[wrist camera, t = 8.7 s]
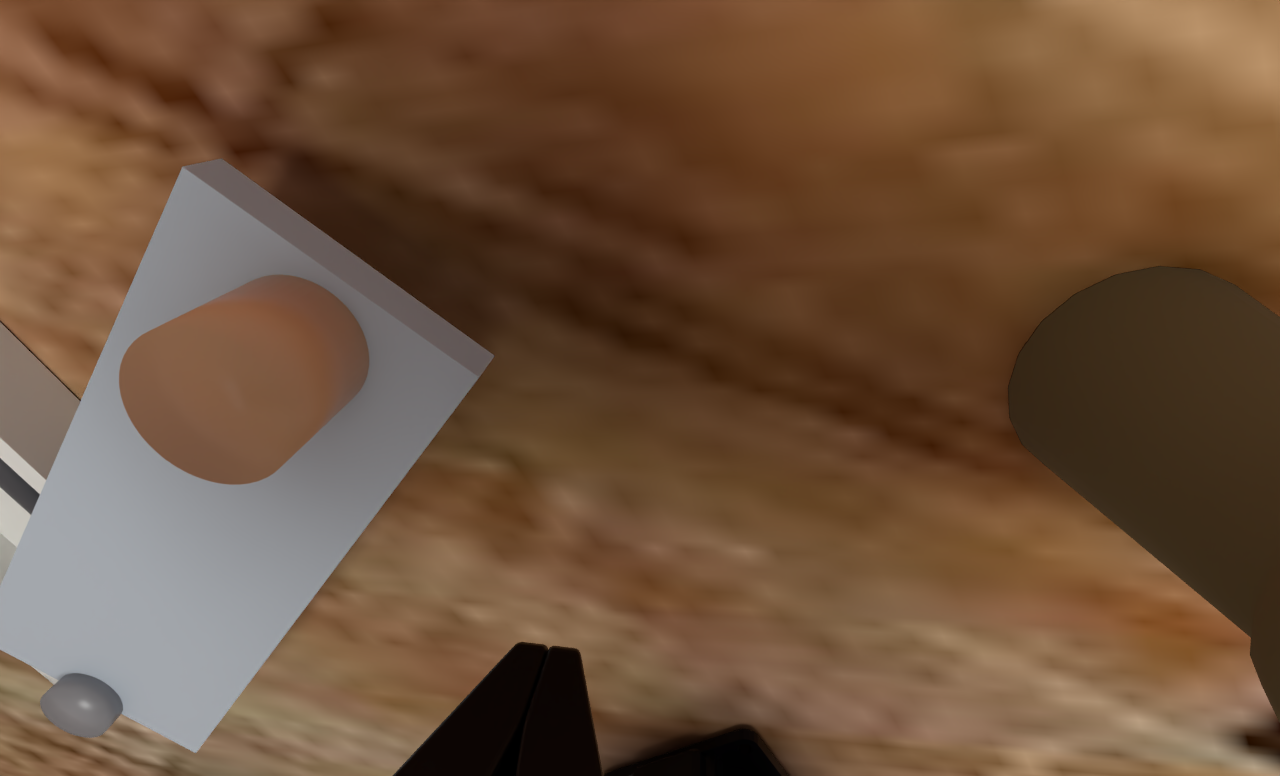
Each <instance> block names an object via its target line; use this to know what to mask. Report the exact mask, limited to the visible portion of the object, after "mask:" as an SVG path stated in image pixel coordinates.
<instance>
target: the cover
mask: <svg viewBox="0 0 1280 776" xmlns="http://www.w3.org/2000/svg"><path fill="white" fill-rule="evenodd" d="M493 358H494V355H493V354H492V353H490V352H489V351H487V350H486V349H485V348H483V347H482V346H480V345H479V344H478V343H476V342H475V341H474V340H472V339H471V338H469V337H468V336H467V335H465V334H464V333H462V332H461V331H460V330H458V329H457V328H456V327H454V326H453V325H451V324H450V323H449V322H447V321H446V320H444V319H443V318H442V317H440V316H439V315H438V314H436V313H435V312H433V311H432V310H431V309H429V308H428V307H426V306H425V305H424V304H422V303H421V302H420V301H418V300H417V299H415V298H414V297H413V296H411V295H410V294H408V293H407V292H406V291H404V290H403V289H402V288H400V287H399V286H397V285H396V284H395V283H393V282H392V281H390V280H389V279H388V278H386V277H385V276H384V275H382V274H381V273H379V272H378V271H377V270H375V269H374V268H372V267H371V266H370V265H368V264H367V263H366V262H364V261H363V260H361V259H360V258H359V257H357V256H356V255H354V254H353V253H352V252H350V251H349V250H348V249H346V248H345V247H343V246H342V245H341V244H339V243H338V242H336V241H335V240H334V239H332V238H331V237H330V236H328V235H327V234H325V233H324V232H323V231H321V230H320V229H318V228H317V227H316V226H314V225H313V224H312V223H310V222H309V221H307V220H306V219H305V218H303V217H302V216H300V215H299V214H298V213H296V212H295V211H294V210H292V209H291V208H289V207H288V206H287V205H285V204H284V203H282V202H281V201H280V200H278V199H277V198H276V197H274V196H273V195H271V194H270V193H269V192H267V191H266V190H264V189H263V188H262V187H260V186H259V185H258V184H256V183H255V182H253V181H252V180H251V179H249V178H248V177H246V176H245V175H244V174H242V173H241V172H240V171H238V170H237V169H235V168H234V167H233V166H231V165H230V164H228V163H227V162H226V161H224V160H223V159H217V160H212V161H207V162H203V163H198V164H193V165H188V166H184V167H182V169H181V172H180V174H179V176H178V178H177V181H176V183H175V185H174V188H173V190H172V192H171V195H170V197H169V199H168V201H167V204H166V206H165V208H164V211H163V213H162V215H161V218H160V220H159V222H158V224H157V227H156V229H155V231H154V234H153V236H152V238H151V241H150V243H149V245H148V247H147V250H146V252H145V254H144V257H143V259H142V261H141V264H140V266H139V268H138V270H137V273H136V275H135V277H134V280H133V282H132V284H131V287H130V289H129V291H128V293H127V296H126V298H125V300H124V303H123V305H122V307H121V309H120V312H119V314H118V316H117V319H116V321H115V323H114V326H113V328H112V330H111V332H110V335H109V337H108V339H107V342H106V344H105V346H104V349H103V351H102V353H101V355H100V358H99V360H98V362H97V365H96V367H95V369H94V372H93V374H92V376H91V378H90V381H89V383H88V385H87V388H86V390H85V392H84V395H83V397H82V399H81V401H80V404H79V406H78V408H77V411H76V413H75V415H74V418H73V420H72V422H71V424H70V427H69V429H68V431H67V434H66V436H65V438H64V441H63V443H62V445H61V447H60V450H59V452H58V454H57V457H56V459H55V461H54V464H53V466H52V468H51V470H50V473H49V475H48V477H47V480H46V482H45V484H44V487H43V489H42V491H41V493H40V496H39V498H38V500H37V503H36V505H35V507H34V510H33V512H32V514H31V516H30V519H29V521H28V523H27V526H26V528H25V530H24V533H23V535H22V537H21V539H20V542H19V544H18V546H17V549H16V551H15V553H14V556H13V558H12V560H11V562H10V565H9V567H8V569H7V572H6V574H5V576H4V579H3V581H2V583H1V585H0V650H2V651H4V652H6V653H8V654H10V655H12V656H13V657H15V658H17V659H19V660H21V661H23V662H25V663H27V664H29V665H30V666H32V667H34V668H36V669H38V670H40V671H42V672H44V673H46V674H47V675H49V676H51V677H53V678H55V679H57V680H58V681H57V682H56V683H55V684H54V685H53V686H52V687H51V688H50V689H49V690H48V691H47V692H46V693H45V694H44V695H43V696H42V698H41V701H40V705H41V709H42V711H43V713H44V714H45V716H46V717H47V718H48V719H49V720H50V721H51V722H52V723H53V724H54V725H56V726H57V727H59V728H60V729H62V730H64V731H66V732H68V733H70V734H73V735H76V736H80V737H89V738H90V737H97V736H100V735H102V734H103V733H104V732H105V731H106V730H107V729H108V728H109V727H110V726H111V725H112V724H113V722H114V721H115V720H116V719H117V718H118V717H119V716H120V715H121V714H123V715H125V716H127V717H129V718H130V719H132V720H134V721H136V722H138V723H140V724H142V725H144V726H146V727H147V728H149V729H151V730H153V731H155V732H157V733H159V734H161V735H163V736H164V737H166V738H168V739H170V740H172V741H174V742H176V743H178V744H180V745H181V746H183V747H185V748H187V749H189V750H191V751H193V752H195V753H196V752H197V751H198V750H199V748H200V747H201V746H202V744H203V743H204V742H205V740H206V739H207V738H208V736H209V735H210V734H211V732H212V731H213V730H214V728H215V727H216V726H217V724H218V723H219V722H220V720H221V719H222V718H223V716H224V715H225V714H226V712H227V711H228V710H229V708H230V707H231V706H232V705H233V703H234V702H235V701H236V699H237V698H238V697H239V695H240V694H241V693H242V691H243V690H244V689H245V687H246V686H247V685H248V683H249V682H250V681H251V679H252V678H253V677H254V675H255V674H256V673H257V671H258V670H259V669H260V667H261V666H262V665H263V663H264V662H265V661H266V659H267V658H268V657H269V655H270V654H271V653H272V651H273V650H274V649H275V647H276V646H277V645H278V644H279V642H280V641H281V640H282V638H283V637H284V636H285V634H286V633H287V632H288V630H289V629H290V628H291V626H292V625H293V624H294V622H295V621H296V620H297V618H298V617H299V616H300V614H301V613H302V612H303V610H304V609H305V608H306V606H307V605H308V604H309V602H310V601H311V600H312V598H313V597H314V596H315V594H316V593H317V592H318V590H319V589H320V588H321V586H322V585H323V584H324V583H325V581H326V580H327V579H328V577H329V576H330V575H331V573H332V572H333V571H334V569H335V568H336V567H337V565H338V564H339V563H340V561H341V560H342V559H343V557H344V556H345V555H346V553H347V552H348V551H349V549H350V548H351V547H352V545H353V544H354V543H355V541H356V540H357V539H358V537H359V536H360V535H361V533H362V532H363V531H364V529H365V528H366V527H367V525H368V524H369V523H370V522H371V520H372V519H373V518H374V516H375V515H376V514H377V512H378V511H379V510H380V508H381V507H382V506H383V504H384V503H385V502H386V500H387V499H388V498H389V496H390V495H391V494H392V492H393V491H394V490H395V488H396V487H397V486H398V484H399V483H400V482H401V480H402V479H403V478H404V476H405V475H406V474H407V472H408V471H409V470H410V468H411V467H412V466H413V464H414V463H415V462H416V461H417V459H418V458H419V457H420V455H421V454H422V453H423V451H424V450H425V449H426V447H427V446H428V445H429V443H430V442H431V441H432V439H433V438H434V437H435V435H436V434H437V433H438V431H439V430H440V429H441V427H442V426H443V425H444V423H445V422H446V421H447V419H448V418H449V417H450V415H451V414H452V413H453V411H454V410H455V409H456V407H457V406H458V405H459V403H460V402H461V401H462V400H463V398H464V397H465V396H466V394H467V393H468V392H469V390H470V389H471V388H472V386H473V385H474V384H475V382H476V381H477V380H478V378H479V377H480V376H481V374H482V373H483V371H484V370H485V369H486V367H487V366H488V365H489V363H490V362H491V360H492V359H493Z"/></svg>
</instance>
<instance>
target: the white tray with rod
mask: <svg viewBox="0 0 1280 776" xmlns="http://www.w3.org/2000/svg"><path fill="white" fill-rule="evenodd" d="M79 404H80V401H79V400H78V399H77V398H76V397H75V396H74V395H73V394H72V393H71V392H70V391H69V390H68V389H67V388H66V387H65V386H64V385H63V384H62V383H61V382H60V381H59V380H58V379H57V378H56V377H55V376H54V375H53V374H52V373H51V372H50V371H49V370H48V369H47V368H46V367H45V366H44V365H43V364H42V363H41V362H40V361H39V360H38V359H37V358H36V357H35V356H34V355H33V354H32V353H31V352H30V351H29V350H28V349H27V348H26V347H25V346H24V345H23V344H22V343H21V342H20V341H19V340H18V339H17V338H16V337H15V336H14V335H13V334H12V333H11V332H10V331H9V330H8V329H7V328H6V327H5V326H4V325H3V324H2V323H1V322H0V585H1V583H2V581H3V579H4V576H5V574H6V572H7V569H8V567H9V565H10V562H11V560H12V558H13V556H14V553H15V551H16V549H17V546H18V544H19V542H20V539H21V537H22V535H23V533H24V530H25V528H26V526H27V523H28V521H29V519H30V516H31V514H32V512H33V510H34V507H35V505H36V503H37V500H38V498H39V496H40V493H41V491H42V489H43V487H44V484H45V482H46V480H47V477H48V475H49V473H50V470H51V468H52V466H53V464H54V461H55V459H56V457H57V454H58V452H59V450H60V447H61V445H62V443H63V441H64V438H65V436H66V434H67V431H68V429H69V427H70V424H71V422H72V420H73V418H74V415H75V413H76V411H77V408H78V406H79ZM33 668H34V667H33ZM34 669H36V668H34ZM36 670H37V671H38V672H39V673H40V674H42V675H43V676H44V677H45V678H47V679H48V680H49V681H50V682H52V683H53V684H55V683H56V682H57V681H58V680H57V679H55V678H53V677H51V676H49V675H47V674H46V673H44V672H42V671H40V670H38V669H36Z"/></svg>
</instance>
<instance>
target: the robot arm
mask: <svg viewBox="0 0 1280 776" xmlns="http://www.w3.org/2000/svg"><path fill="white" fill-rule="evenodd" d="M393 776H603V772H602V767H601V762H600V756H599V751H598V745H597V740H596V735H595V729H594V724H593V718H592V713H591V708H590V702H589V697H588V691H587V686H586V680H585V675H584V670H583V664H582V659H581V654H580V652H579V650H578V649H575V648H568V647H560V646H552V647H550V648H549V650H548V647H547V646H545V645H543V644H535V643H527V642H520V643H517V644H516V645H515V646H514V647H513V648H512V649H511V650H510V651H509V652H508V653H507V654H506V655H505V656H504V657H503V658H502V659H501V660H500V662H499V663H498V664H497V665H496V666H495V667H494V668H493V669H492V670H491V671H490V672H489V673H488V674H487V675H486V676H485V678H484V679H483V680H482V681H481V682H480V683H479V684H478V685H477V686H476V687H475V688H474V689H473V690H472V691H471V693H470V694H469V695H468V696H467V697H466V698H465V699H464V700H463V701H462V702H461V703H460V704H459V705H458V706H457V707H456V709H455V710H454V711H453V712H452V713H451V714H450V715H449V716H448V717H447V718H446V719H445V720H444V721H443V722H442V724H441V725H440V726H439V727H438V728H437V729H436V730H435V731H434V732H433V733H432V734H431V735H430V736H429V737H428V739H427V740H426V741H425V742H424V743H423V744H422V745H421V746H420V747H419V748H418V749H417V750H416V751H415V752H414V753H413V755H412V756H411V757H410V758H409V759H408V760H407V761H406V762H405V763H404V764H403V765H402V766H401V767H400V768H399V770H398V771H397V772H396V773H395V774H394V775H393ZM604 776H788V775H787V773H786V772H785V771H784V769H783V768H782V767H781V765H780V764H779V763H778V761H777V760H776V759H775V757H774V756H773V755H772V753H771V752H770V751H769V749H768V748H767V747H766V746H765V744H764V743H763V742H762V740H761V739H760V738H759V736H758V735H757V734H756V733H755V732H754V731H751V730H748V729H740V730H736V731H733V732H730V733H727V734H724V735H721V736H718V737H715V738H712V739H709V740H706V741H703V742H700V743H697V744H694V745H691V746H688V747H685V748H682V749H679V750H676V751H673V752H670V753H666V754H663V755H660V756H657V757H654V758H651V759H648V760H645V761H642V762H639V763H636V764H633V765H630V766H627V767H624V768H621V769H618V770H615V771H612V772H609V773H607V774H605V775H604Z"/></svg>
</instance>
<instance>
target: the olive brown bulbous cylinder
mask: <svg viewBox="0 0 1280 776" xmlns="http://www.w3.org/2000/svg"><path fill="white" fill-rule="evenodd" d="M1008 393H1009V415H1010V420H1011V422H1012V424H1013V426H1014V428H1015V430H1016V432H1017V435H1018V437H1019V439H1020V441H1021V443H1022V445H1023V446H1024V447H1025V448H1027V449H1028V450H1029V451H1030V452H1031V453H1032V454H1033V455H1034V456H1035V457H1037V458H1038V459H1039V460H1040V461H1041V462H1042V463H1043V464H1044V465H1046V466H1047V467H1048V468H1049V469H1050V470H1052V471H1053V472H1054V473H1055V474H1056V475H1057V476H1059V477H1060V478H1061V479H1062V480H1063V481H1065V482H1066V483H1067V484H1068V485H1069V486H1071V487H1072V488H1073V489H1074V490H1075V491H1077V492H1078V493H1079V494H1080V495H1081V496H1083V497H1084V498H1085V499H1086V500H1087V501H1089V502H1090V503H1091V504H1092V505H1093V506H1094V507H1096V508H1097V509H1098V510H1099V511H1100V512H1102V513H1103V514H1104V515H1105V516H1106V517H1108V518H1109V519H1110V520H1111V521H1112V522H1114V523H1115V524H1116V525H1117V526H1118V527H1120V528H1121V529H1122V530H1123V531H1124V532H1126V533H1127V534H1128V535H1129V536H1130V537H1131V538H1133V539H1134V540H1135V541H1136V542H1137V543H1139V544H1140V545H1141V546H1142V547H1143V548H1145V549H1146V550H1147V551H1148V552H1149V553H1151V554H1152V555H1153V556H1154V557H1155V558H1157V559H1158V560H1159V561H1160V562H1161V563H1163V564H1164V565H1165V566H1166V567H1167V568H1169V569H1170V570H1171V571H1172V572H1173V573H1174V574H1176V575H1177V576H1178V577H1179V578H1180V579H1182V580H1183V581H1184V582H1185V583H1186V584H1188V585H1189V586H1190V587H1191V588H1192V589H1194V590H1195V591H1196V592H1197V593H1198V594H1200V595H1201V596H1202V597H1203V598H1204V599H1206V600H1207V601H1208V602H1209V603H1210V604H1211V605H1213V606H1214V607H1215V608H1216V609H1217V610H1219V611H1220V612H1221V613H1222V614H1223V615H1225V616H1226V617H1227V618H1228V619H1229V620H1231V621H1232V622H1233V623H1234V624H1235V625H1237V626H1238V627H1239V628H1240V629H1241V630H1243V631H1244V632H1245V633H1246V634H1247V635H1248V636H1250V637H1251V646H1250V656H1251V659H1252V661H1253V664H1254V667H1255V669H1256V672H1257V674H1258V677H1259V679H1260V682H1261V685H1262V687H1263V689H1264V691H1265V693H1266V695H1267V697H1268V699H1269V701H1270V704H1271V706H1272V708H1273V710H1274V712H1275V714H1276V716H1277V718H1278V720H1279V722H1280V317H1279V316H1277V315H1276V314H1275V313H1273V312H1272V311H1270V310H1269V309H1268V308H1266V307H1265V306H1264V305H1262V304H1261V303H1259V302H1258V301H1257V300H1255V299H1254V298H1252V297H1251V296H1250V295H1248V294H1247V293H1245V292H1244V291H1243V290H1241V289H1240V288H1238V287H1237V286H1236V285H1234V284H1232V283H1229V282H1227V281H1225V280H1223V279H1220V278H1218V277H1216V276H1214V275H1211V274H1209V273H1207V272H1205V271H1202V270H1199V269H1186V268H1174V267H1162V266H1158V267H1153V268H1148V269H1143V270H1138V271H1133V272H1128V273H1123V274H1118V275H1114V276H1112V277H1110V278H1108V279H1106V280H1104V281H1102V282H1100V283H1097V284H1095V285H1093V286H1091V287H1089V288H1087V289H1085V290H1083V291H1081V292H1079V293H1076V294H1075V295H1073V296H1072V297H1071V298H1070V299H1069V300H1067V301H1066V302H1065V303H1064V304H1062V305H1061V306H1060V307H1059V308H1058V309H1056V310H1055V311H1054V312H1053V313H1052V314H1050V315H1049V316H1048V317H1047V318H1045V319H1044V320H1043V321H1042V322H1041V323H1040V325H1039V326H1038V328H1037V329H1036V330H1035V332H1034V333H1033V335H1032V336H1031V337H1030V339H1029V340H1028V342H1027V343H1026V344H1025V346H1024V347H1023V349H1022V350H1021V351H1020V353H1019V355H1018V358H1017V361H1016V364H1015V367H1014V371H1013V374H1012V377H1011V380H1010V383H1009V386H1008Z"/></svg>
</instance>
